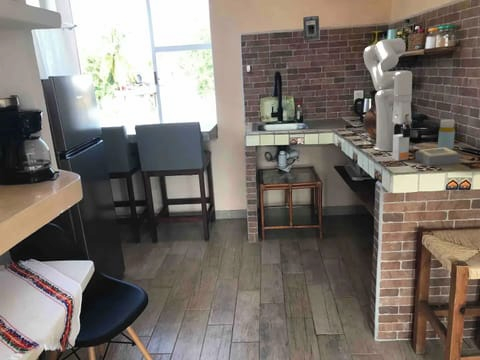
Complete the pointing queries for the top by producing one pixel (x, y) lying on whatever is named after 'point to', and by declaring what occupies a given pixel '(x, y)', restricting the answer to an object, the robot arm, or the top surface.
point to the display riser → (437, 156)
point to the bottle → (446, 134)
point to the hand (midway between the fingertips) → (401, 135)
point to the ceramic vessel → (371, 117)
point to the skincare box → (400, 147)
